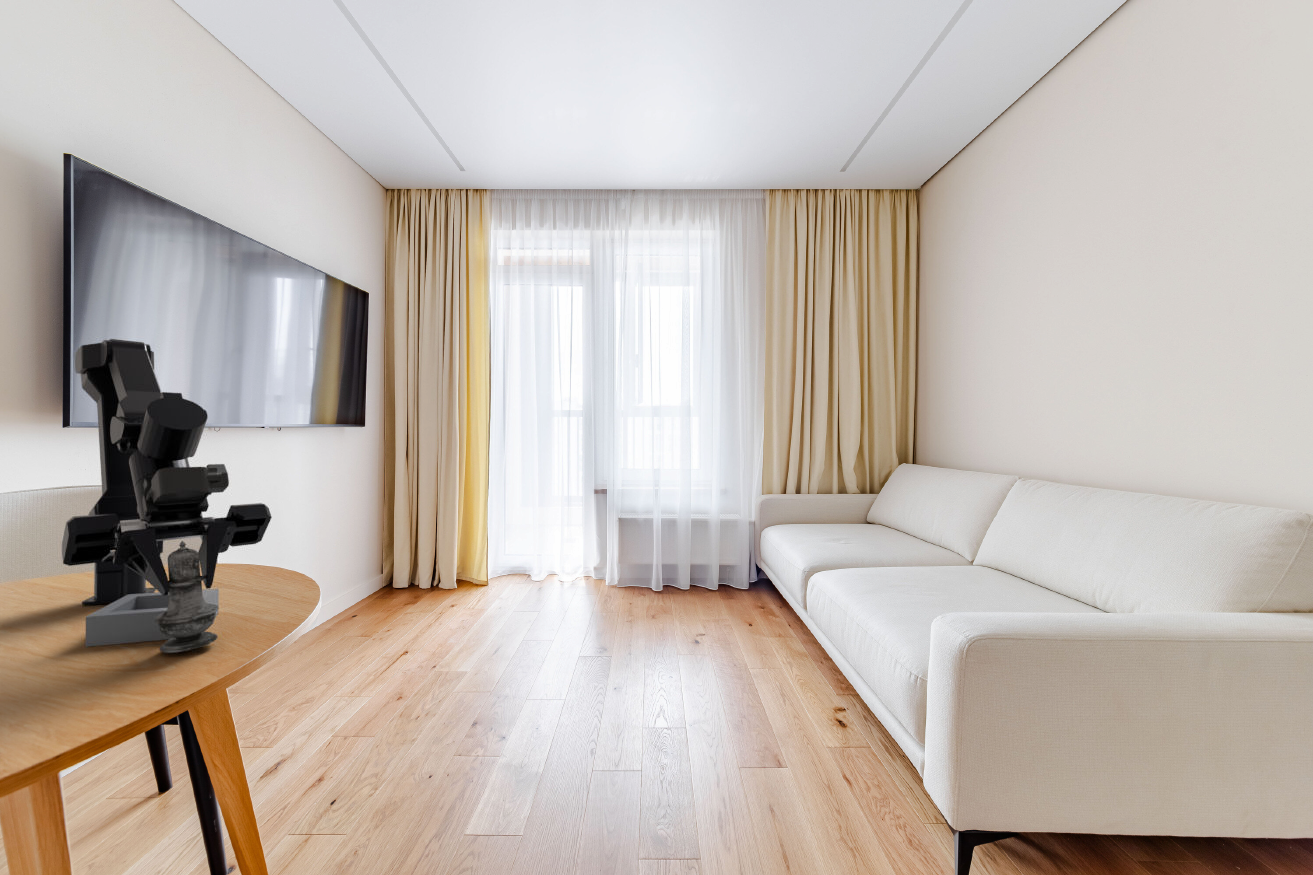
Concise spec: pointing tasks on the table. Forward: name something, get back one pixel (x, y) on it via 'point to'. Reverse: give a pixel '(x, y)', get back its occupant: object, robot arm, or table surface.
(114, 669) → the table surface
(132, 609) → the socket block
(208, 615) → the salt shaker
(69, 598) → the table surface
